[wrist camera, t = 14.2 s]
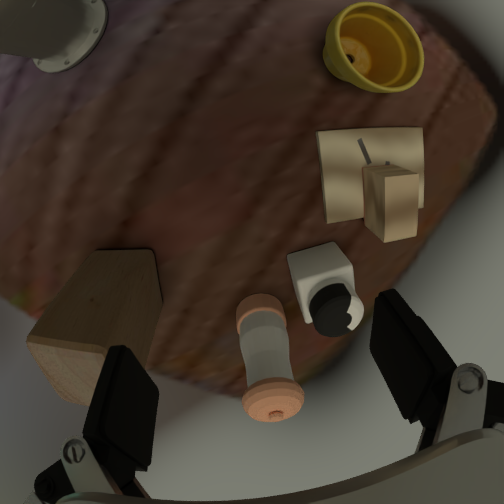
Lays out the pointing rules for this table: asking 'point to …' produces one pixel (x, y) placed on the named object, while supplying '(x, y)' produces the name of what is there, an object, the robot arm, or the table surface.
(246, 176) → the table surface
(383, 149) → the board
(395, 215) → the block
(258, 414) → the pepper shaker
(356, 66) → the plant pot
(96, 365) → the wooden block
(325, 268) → the medicine bottle
